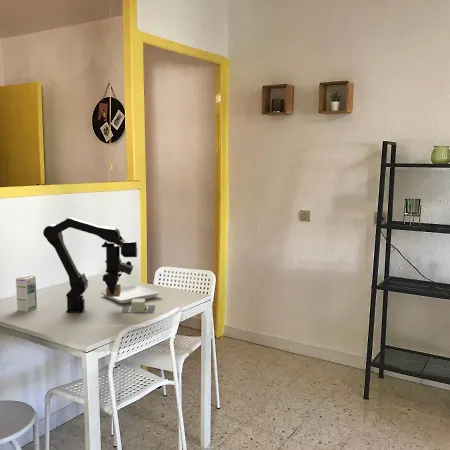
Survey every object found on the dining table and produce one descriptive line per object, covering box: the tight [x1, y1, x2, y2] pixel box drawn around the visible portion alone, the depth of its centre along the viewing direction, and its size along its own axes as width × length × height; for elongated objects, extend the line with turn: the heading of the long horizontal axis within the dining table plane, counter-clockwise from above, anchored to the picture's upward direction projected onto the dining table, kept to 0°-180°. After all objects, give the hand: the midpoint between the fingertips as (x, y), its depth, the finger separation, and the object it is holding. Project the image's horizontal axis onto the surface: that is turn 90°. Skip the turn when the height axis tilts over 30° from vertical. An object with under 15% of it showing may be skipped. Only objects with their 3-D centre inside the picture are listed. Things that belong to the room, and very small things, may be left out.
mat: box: [120, 304, 156, 315], centre depth 212 cm, size 14×12×1 cm
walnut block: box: [105, 283, 122, 298], centre depth 210 cm, size 6×6×4 cm
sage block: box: [130, 299, 146, 311], centre depth 212 cm, size 6×6×4 cm
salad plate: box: [99, 284, 160, 304], centre depth 232 cm, size 21×21×3 cm
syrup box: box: [15, 274, 38, 313], centre depth 209 cm, size 6×6×14 cm
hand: (113, 292), depth 210 cm, fingers closed on walnut block, 5 cm apart
